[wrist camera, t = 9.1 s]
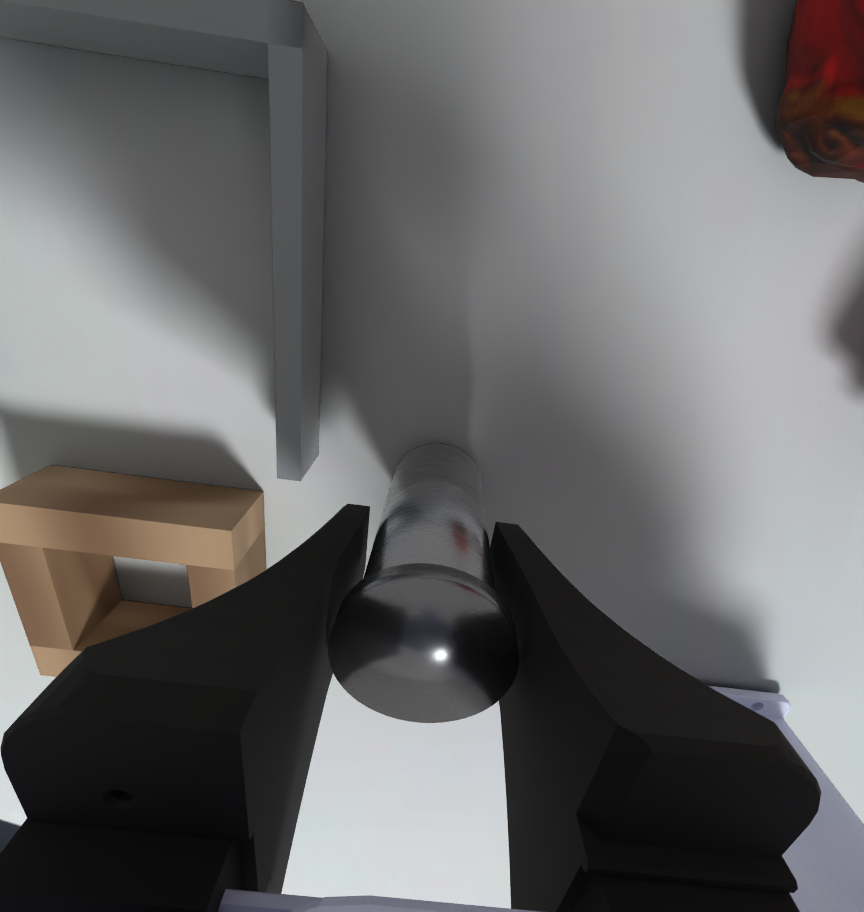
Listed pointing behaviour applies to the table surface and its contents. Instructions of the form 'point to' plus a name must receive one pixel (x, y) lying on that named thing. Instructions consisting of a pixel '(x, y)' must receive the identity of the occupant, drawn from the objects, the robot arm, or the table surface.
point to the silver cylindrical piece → (427, 600)
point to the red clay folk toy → (825, 89)
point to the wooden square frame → (116, 551)
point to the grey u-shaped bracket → (291, 149)
